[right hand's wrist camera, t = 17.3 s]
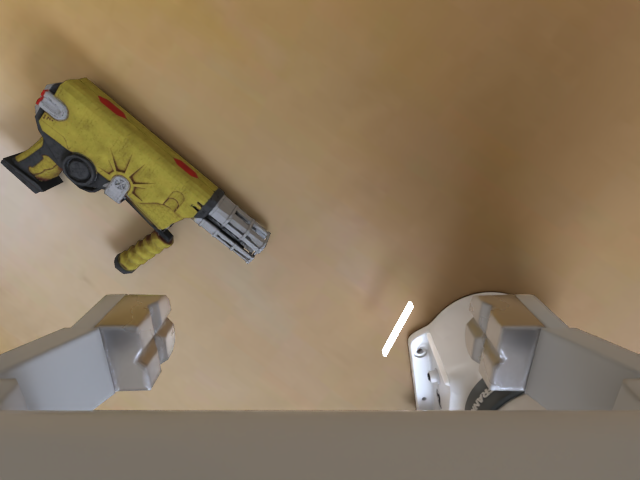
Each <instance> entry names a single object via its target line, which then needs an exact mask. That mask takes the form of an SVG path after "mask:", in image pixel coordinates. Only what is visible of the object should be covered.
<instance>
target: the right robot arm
mask: <svg viewBox="0 0 640 480" xmlns="http://www.w3.org/2000/svg"><path fill="white" fill-rule="evenodd" d="M412 309H413V305H412V302H408V304H407V306H406V308H405V310H404V311H403V313H402V315H401V317H400V319H399V321H398V322H397V324H396V326H395V328H394V330H393V332H392V333H391V335H390V337H389V339H388V341H387V343H386V344H385V346H384V348H383V350H382V352H383V356H386V355H387V354H388V352H389V350H390V348H391V346H392V345H393V343H394V341H395V339H396V337H397V336H398V334H399V332H400V330H401V328H402V327H403V325H404V323H405V321H406V319H407V318H408V316H409V314H410V312H411V310H412ZM170 311H171V306H170V301H169V298H168V297H167V296H166V295H131V294H130V295H128V294H111V295H106V296H104V297H103V298H102V299H101V300H100V301H99V302H98V303H97V304H96V305H95V306H94V307H93V308H92V309H90V310H89V311H88V312H87V313H86V314H85V315H84V316H83V317H82V318H81V319H80V320H79V321H78V322H76V323H75V324H74V325H73V326H72V327H71V328H63V329H61V330H58V331H56V332H53V333H51V334H49V335H46V336H44V337H41V338H39V339H37V340H34V341H32V342H29V343H27V344H25V345H22V346H20V347H17V348H15V349H12V350H10V351H8V352H5V353H3V354H0V480H640V355H639V354H637V353H635V352H632V351H630V350H627V349H625V348H623V347H620V346H618V345H615V344H613V343H611V342H608V341H606V340H603V339H601V338H599V337H596V336H594V335H591V334H589V333H587V332H584V331H582V330H579V329H577V328H569V327H568V326H567V325H566V324H565V323H564V322H562V321H561V320H560V319H559V318H558V317H557V316H556V315H555V314H554V313H553V312H552V311H551V310H550V309H549V308H547V307H546V306H545V305H544V304H543V303H542V302H541V301H540V300H539V299H538V298H537V297H536V296H534V295H531V294H518V295H509V294H505V293H498V292H485V293H478V294H473V295H470V296H467V297H464V298H462V299H460V300H457V301H456V302H454V303H452V304H451V305H449V306H448V307H446V308H445V309H444V310H443V311H442V312H441V313H440V314H439V315H438V316H437V317H436V318H435V319H434V320H433V321H432V322H431V323H430V324H429V325H428V326H425V327H423V328H422V329H420V330H418V331H416V332H414V333H413V334H412V335H410V337H409V338H408V347H409V355H410V362H411V370H412V377H413V385H414V393H415V400H416V408H417V410H93V409H95V408H96V407H97V406H99V405H100V404H101V403H103V402H104V401H105V400H107V399H108V398H109V397H111V396H112V395H113V394H115V391H140V390H151V388H152V387H153V385H154V383H155V381H156V380H157V378H158V376H159V375H160V373H161V366H160V364H161V363H163V362H165V361H166V360H168V359H169V357H170V355H171V353H172V351H173V347H174V343H175V329H174V324H173V323H172V322H171V321H170V320H169V319H168V318H167V316H168V314H169V313H170ZM418 349H421V350H418Z"/></svg>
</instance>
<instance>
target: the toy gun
mask: <svg viewBox="0 0 640 480" xmlns="http://www.w3.org/2000/svg"><path fill="white" fill-rule="evenodd" d="M35 110H36V116H35V119H36V122H37V126H38V130H39V132H40V133H41V135H42V137H41V138H40V140H39V141H38V142H36V143H35V144H34V145H33V146H32V147H31V148H29V149H28V150H26V151H24V152H21V153H18V154H15V155H12V156H9V157H6V158H3V160H2V161H1V163H2V164H3V165H4V166H5V167H6V168H7V169H8V170H9V171H10V172H11V173H13V174H14V175H15V176H16V177H17V178H18V179H19V180H20V181H22V182H23V183H24V184H25V185H26V186H27V187H28V188H29V189H31V190H32V191H33V192H34V193H35V194H36V193H38V192H44V191H46V190H48V189H50V188H52V187H54V186H56V185H58V184H60V183H62V182H63V181H62V179H61V178H60V177H59V176H58V175H59V174H60V173H61V171H63V173H64V174H65V175H66V176H67V177H68V178H69V179H70V180H71V181H72V182H73V183H74V184H75V185H76V186H78V187H79V188H80V189H83V190H85V191H87V192H97V191H99V190H101V189H105V192H104V193H105V194H106V195H107V196H109V197H110V198H111V199H113V200H114V201H115V202H117V203H121V202H123V201H124V200H126V201H127V202H128V203H129V204H130V205H131V206H132V207H133V208H134V209H135V210H136V211H137V212H138V213H139V214H140V215H141V216H142V217H143V218H144V219H145V220H146V221H147V222H148V223H149V224H150V225H151V226H152V227H153V228H154V229H155V231H153V232H152V233H151V234H150V235H147V236H146V237H145V238H144V239H143V240H139V241H138V242H137V244H136V245H133V246H131V247H130V248H129V249H128V251H124V252H122V253H120V254H118V255H117V256H116V258H115V260H114V263H115V268H116V269H118V270H119V271H120V272H121V273H123V274H127V273H132V272H134V271H135V270H136V269H137V268H138V267H139V266H140V265H141V264H144V263H145V262H147V261H148V259H151V258H153V257H154V256H155V254H158V253H160V252H161V251H162V250H163V249H164V248H168V247H170V246H171V245H172V244H173V235H172V234H171V233H170V232H169V231H168V230H167V229H168V228H169V227H171V226H172V225H173V224H174V223H175V222H178V221H180V220H183V219H184V218H191V219H192V220H194V221H195V222H196V223H197V224H198V225H199V226H202V227H203V228H204V229H205V230H207V231H208V232H209V233H210V234H211V235H212V236H213V237H215V238H217V239H218V240H219V241H220V242H222V243H223V244H224V245H225V246H227V247H228V248H229V249H230V250H231V251H232V250H233V251H234V252H235V253H236V254H237V255H239V256H240V257H241V258H242V259H244V260H245V261H246V263H247V264H248V263H250V262H251V261H252V260H253V259H254V257H255V255H256V254H257V253H258V254H259V253H260V252H261V251H262V250H263V249H264V248H265V247H266V245H267V242H268V239H269V236H270V234H271V233H270V232H267V231H266V230H265V229H264V228H263V227H261V226H260V225H259V224H258V223H257V222H256V221H255V220H254V219H252V218H251V217H249V216H248V215H247V214H246V213H245V212H243V211H242V210H241V209H240V208H239V206H237V205H235V204H234V203H233V202H232V201H231V200H230V199H228V198H227V197H226V196H225V195H224V192H223V191H222V190H221V189H219V188H218V187H217V186H216V185H215V184H213V183H212V182H211V181H210V180H209V179H207V178H206V177H205V176H204V175H203V174H201V173H200V172H199V171H198V170H197V169H195V168H194V167H193V166H192V165H191V164H189V163H188V162H187V161H186V160H185V159H183V158H182V157H181V156H180V155H179V154H177V153H176V152H175V151H174V150H173V149H171V148H170V147H169V146H168V145H167V144H165V143H164V142H163V141H162V140H161V139H159V138H158V137H157V136H156V135H155V134H153V133H152V132H151V131H150V130H148V129H147V128H146V127H145V126H144V125H142V124H141V123H140V122H139V121H138V120H136V119H135V118H134V117H133V116H132V115H130V114H129V113H128V112H127V111H126V110H124V109H123V108H122V107H121V106H120V105H118V104H117V103H116V102H115V101H114V100H112V99H111V98H110V97H109V96H108V95H106V94H105V93H104V92H103V91H102V90H100V89H99V88H98V87H97V86H96V85H94V84H93V83H92V82H91V81H90V80H88V79H87V78H82V79H71V80H66V81H65V82H62V83H54V84H49V85H46V87H45V89H44V90H43V91H42V93H41V97H40V98H39V99H38V100H37V102H36V106H35ZM260 236H261V237H262V238H261V237H260ZM265 238H266V240H264V239H265ZM253 242H254V243H253ZM257 245H258V246H259V247H260V248H259V247H258V246H257ZM243 248H245V249H247V250H248V251H249V253H248V252H247V251H246V250H244V249H243ZM253 251H255V252H254V253H253V254H252V252H253Z"/></svg>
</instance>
